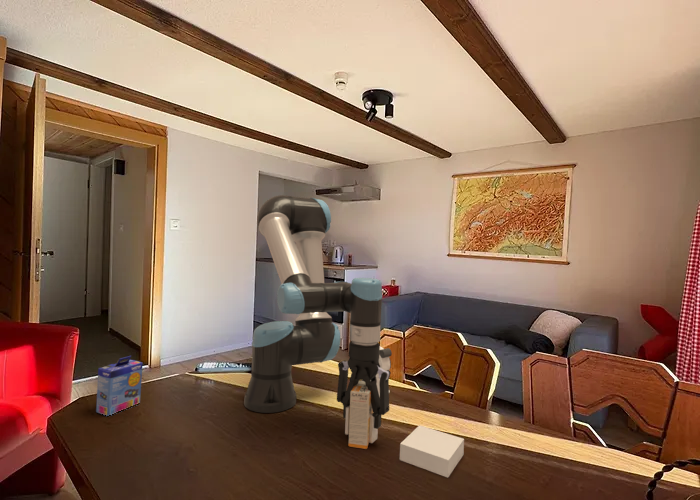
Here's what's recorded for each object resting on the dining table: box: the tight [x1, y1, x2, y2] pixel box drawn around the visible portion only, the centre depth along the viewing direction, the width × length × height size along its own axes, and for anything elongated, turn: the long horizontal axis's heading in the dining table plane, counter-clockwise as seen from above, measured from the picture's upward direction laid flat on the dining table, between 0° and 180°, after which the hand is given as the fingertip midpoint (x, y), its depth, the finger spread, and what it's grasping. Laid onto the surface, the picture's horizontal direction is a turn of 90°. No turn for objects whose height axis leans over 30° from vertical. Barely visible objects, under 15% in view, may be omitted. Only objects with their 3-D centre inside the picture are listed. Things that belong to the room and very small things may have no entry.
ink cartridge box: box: [95, 355, 143, 417], centre depth 104 cm, size 10×6×14 cm, turn 158°
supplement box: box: [347, 380, 373, 450], centre depth 92 cm, size 8×5×13 cm, turn 168°
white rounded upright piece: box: [376, 345, 393, 397], centre depth 124 cm, size 12×11×15 cm
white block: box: [399, 425, 465, 478], centre depth 85 cm, size 11×11×4 cm
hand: (361, 436), depth 92 cm, fingers closed on supplement box, 6 cm apart
